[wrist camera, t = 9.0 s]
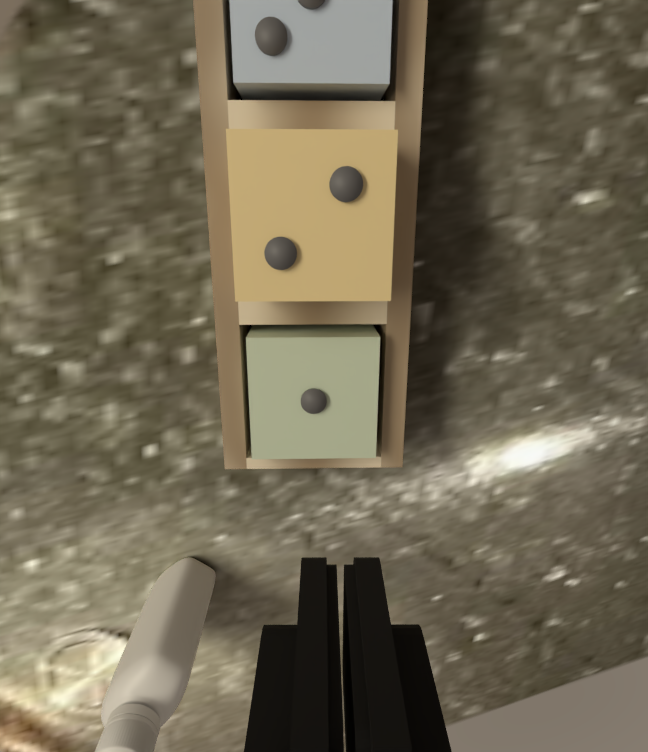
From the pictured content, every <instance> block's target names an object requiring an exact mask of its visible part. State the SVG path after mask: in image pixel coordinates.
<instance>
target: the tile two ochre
mask: <svg viewBox="0 0 648 752" xmlns="http://www.w3.org/2000/svg"><path fill="white" fill-rule="evenodd" d="M226 141H227V160H228V178H229V196H230V215H231V233H232V252H233V270H234V289H235V302H256V301H391V286H392V262H393V238H394V215H395V191H396V167H397V143H398V130H367V129H226Z"/></svg>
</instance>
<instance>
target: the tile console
mask: <svg viewBox="0 0 648 752" xmlns="http://www.w3.org/2000/svg"><path fill="white" fill-rule="evenodd" d="M193 3H194V18H195V33H196V48H197V63H198V77H199V92H200V107H201V122H202V137H203V151H204V166H205V181H206V196H207V211H208V226H209V240H210V255H211V270H212V285H213V300H214V314H215V329H216V344H217V359H218V374H219V389H220V403H221V418H222V433H223V448H224V463H225V469H283V468H368V467H402V464H403V446H404V428H405V409H406V391H407V373H408V355H409V336H410V318H411V300H412V282H413V263H414V245H415V227H416V209H417V190H418V172H419V154H420V136H421V117H422V99H423V81H424V63H425V44H426V26H427V8H428V0H393V3H392V30H391V58H390V84H389V86H388V87H387V89H386V91H385V93H384V101H298V100H239V92H238V90H237V88H236V86H235V85H234V83H233V64H232V43H231V22H230V2H229V0H193ZM226 129H367V130H398V143H397V167H396V191H395V215H394V238H393V262H392V286H391V301H256V302H235V289H234V270H233V252H232V233H231V215H230V196H229V178H228V160H227V141H226ZM304 324H376V331H377V332H378V334H379V336H380V359H379V387H378V414H377V442H376V458H329V459H252V453H251V433H250V412H249V392H248V371H247V351H246V337H247V335H248V333H249V331H250V328H249V325H304Z"/></svg>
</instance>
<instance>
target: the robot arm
mask: <svg viewBox="0 0 648 752" xmlns="http://www.w3.org/2000/svg"><path fill="white" fill-rule="evenodd" d="M343 693H344V715H345V737H346V752H451V747H450V744H449V739H448V735H447V731H446V727H445V723H444V719H443V715H442V711H441V707H440V702H439V698H438V694H437V690H436V686H435V682H434V678H433V674H432V670H431V666H430V662H429V657H428V653H427V649H426V645H425V641H424V637H423V633H422V630H421V627H420V626H419V625H391V622H390V617H389V611H388V605H387V599H386V593H385V587H384V581H383V576H382V570H381V564H380V559H379V558H354V562H353V565H344V605H343ZM244 752H344V745H343V713H342V688H341V664H340V639H339V615H338V590H337V566H336V565H327V560H326V558H302V560H301V575H300V591H299V607H298V623H297V625H264V626H263V629H262V635H261V641H260V648H259V655H258V662H257V668H256V675H255V682H254V688H253V695H252V702H251V709H250V715H249V722H248V729H247V736H246V742H245V749H244Z"/></svg>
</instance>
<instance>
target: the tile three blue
mask: <svg viewBox="0 0 648 752" xmlns="http://www.w3.org/2000/svg"><path fill="white" fill-rule="evenodd" d="M229 2H230V22H231V43H232V64H233V83H234V85H235V86H236V88H237V90H238V92H239V94H240V95H241V97H242V99H243V100H298V101H380V100H381V98H382V96H383V94H384V93H385V91H386V89H387V87H388V86H389V84H390V58H391V30H392V3H393V0H229Z"/></svg>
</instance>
